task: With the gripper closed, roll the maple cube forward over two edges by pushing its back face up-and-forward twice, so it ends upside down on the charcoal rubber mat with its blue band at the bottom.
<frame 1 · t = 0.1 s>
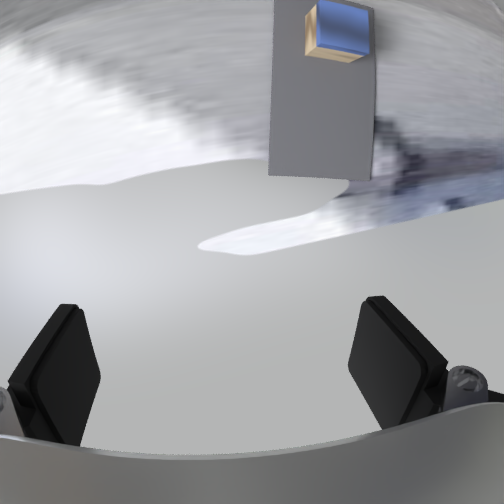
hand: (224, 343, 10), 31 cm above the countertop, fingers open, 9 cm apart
cube: (327, 38, 33), resting on mat
mat: (325, 80, 36), on the countertop
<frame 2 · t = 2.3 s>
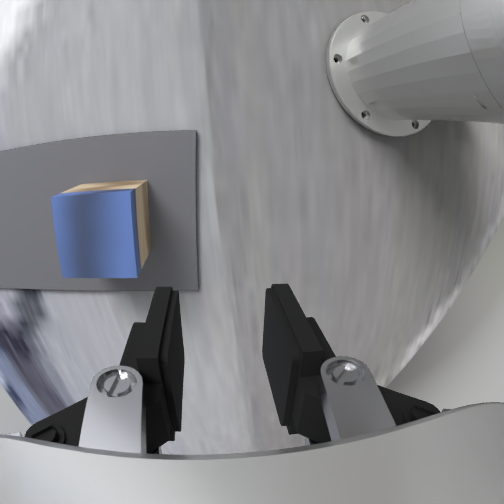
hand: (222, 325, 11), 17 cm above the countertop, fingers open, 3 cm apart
cube: (115, 216, 25), resting on mat
mat: (58, 218, 25), on the countertop
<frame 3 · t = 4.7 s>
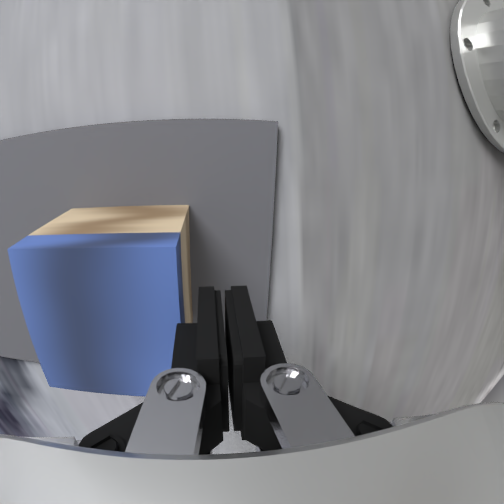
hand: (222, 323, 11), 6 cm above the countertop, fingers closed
cube: (131, 265, 15), point 1 cm above the countertop, touching gripper, mat
mat: (37, 261, 15), on the countertop
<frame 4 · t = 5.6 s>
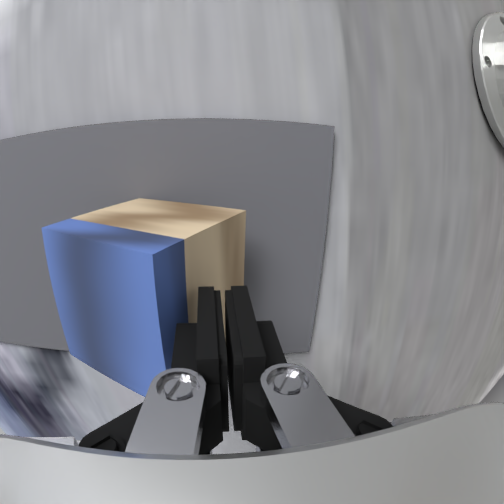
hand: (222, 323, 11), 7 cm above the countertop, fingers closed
cube: (188, 263, 15), point 2 cm above the countertop, tilted 30°, touching gripper, mat
mat: (95, 250, 17), on the countertop
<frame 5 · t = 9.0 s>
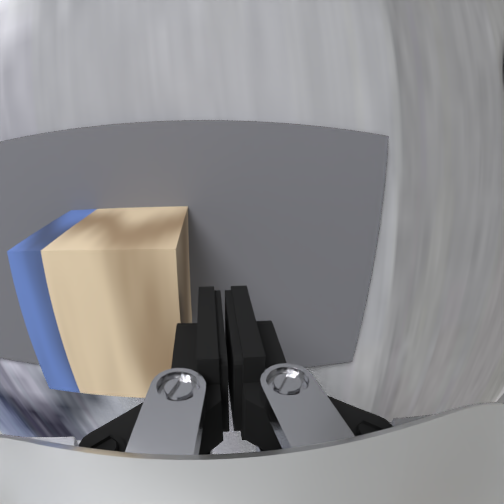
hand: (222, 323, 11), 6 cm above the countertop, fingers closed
cube: (186, 294, 13), point 4 cm above the countertop, tilted 90°, touching gripper, mat
mat: (132, 262, 16), on the countertop
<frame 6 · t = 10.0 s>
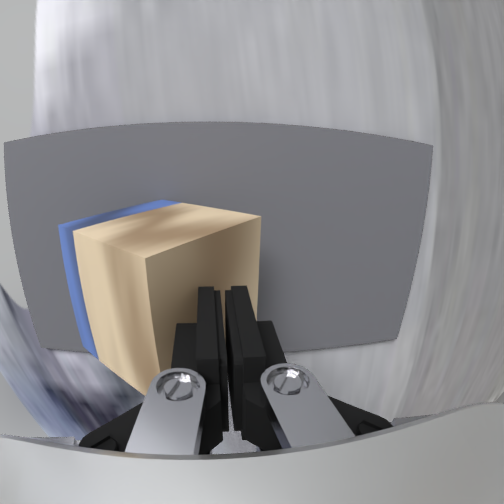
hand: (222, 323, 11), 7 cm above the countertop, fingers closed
cube: (215, 310, 12), point 7 cm above the countertop, tilted 130°, touching mat
mat: (218, 250, 18), on the countertop
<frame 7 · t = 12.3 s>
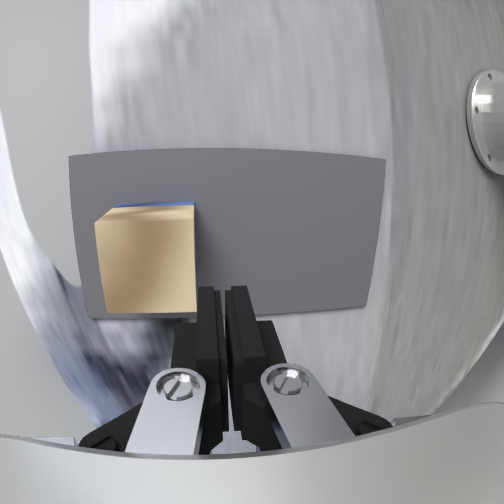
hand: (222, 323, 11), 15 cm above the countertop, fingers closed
cube: (145, 269, 19), point 6 cm above the countertop, tilted 180°, touching mat
mat: (232, 236, 26), on the countertop
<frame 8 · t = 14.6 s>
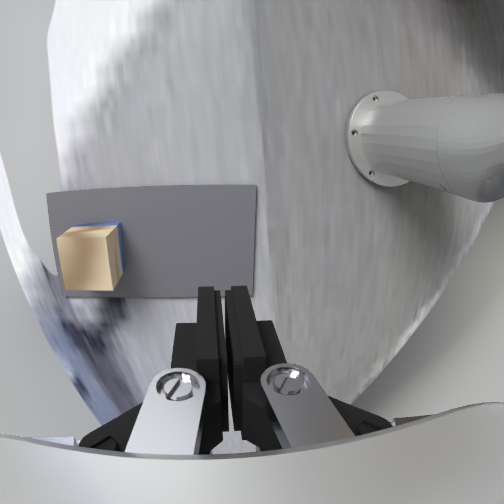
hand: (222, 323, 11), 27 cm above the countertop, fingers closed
cube: (84, 264, 30), point 6 cm above the countertop, tilted 180°, touching mat
mat: (147, 244, 37), on the countertop
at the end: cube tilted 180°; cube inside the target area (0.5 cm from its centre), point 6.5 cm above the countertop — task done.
